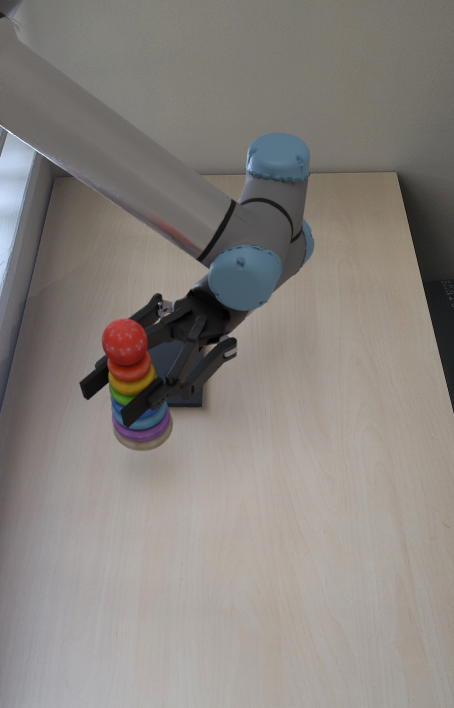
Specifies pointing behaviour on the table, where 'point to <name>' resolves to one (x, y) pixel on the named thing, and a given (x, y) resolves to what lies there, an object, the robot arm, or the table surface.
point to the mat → (164, 361)
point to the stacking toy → (133, 385)
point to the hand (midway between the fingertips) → (103, 405)
